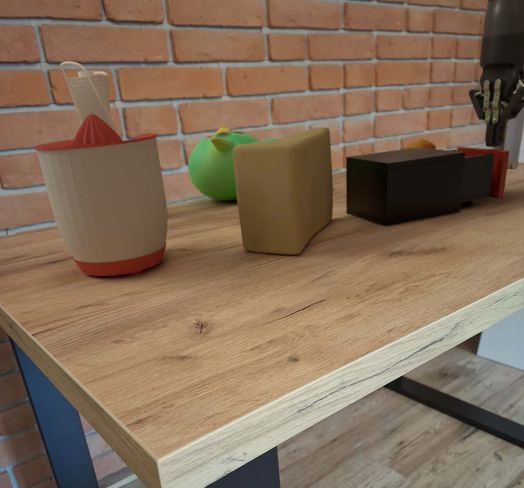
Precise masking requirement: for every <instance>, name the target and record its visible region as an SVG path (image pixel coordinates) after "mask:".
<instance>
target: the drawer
mask: <svg viewBox="0 0 524 488" xmlns="http://www.w3.org/2000/svg"><path fill="white" fill-rule="evenodd" d="M448 151H458V152H465V157H464V158H465V160H464V171H463V181H462V192H461V202H460V204H463V203H469V202H474V201H480V200H485V199H489V198H490V199H495V200H500V199H504V197H505V195H504V194H505V187H506V181H507V174H508V173H507V172H508V170H516V169H518V167H519V161H518V160H514V159H510V158H509V156H510V150H505V149H493V148H480V147H470V146H458V147H457V148H456V149H449V150H448Z"/></svg>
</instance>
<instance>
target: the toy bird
mask: <svg viewBox="0 0 524 488" xmlns="http://www.w3.org/2000/svg"><path fill="white" fill-rule="evenodd" d="M281 138H282V137H273V138H268V139H263V140H259V139H258V138H257V137H255V136H253V135H251V134H249V133H246V132H243V131H237V130H233V131H232V130H231V129H230V128H229V127H227V126H221V127H219V129H217V131H216V132H215V133H214V134H210V135H208V136H207V137H204V138H203V139H201V140H200V141H199V142H198V143H197V144H196V145H195V146H194V147H193V148H192V151H191V153H190V155H189V158H188V163H187V165H188V166H187V170H188V171H187V172H188V175H189V178H190V181H191V183H192V185H193V186H194V187H195V189H196V190H198V192H200V193H201V194H202V195H204V196H206V197H207V198H210V199H213V200H218V201H237V194H236V184H235V172H234V161H233V149H234V148H235V147H236V146H238V145H241V144H247V143H254V142H267V141H273V140H278V139H281Z"/></svg>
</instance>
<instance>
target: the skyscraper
mask: <svg viewBox="0 0 524 488" xmlns="http://www.w3.org/2000/svg"><path fill="white" fill-rule="evenodd" d="M64 66H76V67H78V68H80V69H81V70H80V71H77V76H74V77H68V76H67V73H66V71H65V69H64ZM59 68H60V70H61V72H62V74H63V76H64V78H65V81H66V85H67V87H68V90H69V93H70V96H71V98H72V102H73V105H74V107H75V110H76V113H77V116H78V119H79V121H80V126H81V125H82V123H83V121H84V120H85V119H86V117H87V116H88V115H90V114H95V115H96V116H98V117H99V118H101V119H102V120H103V121H104V122H105V123H107V124H108V125H109V126H110V127H111V128H112V129H113V130H114V131H115V132H116V133H117V134H118V131H117V129H116V126H115V123H114V120H113V119H112V115H111V99H110V82H109V74H108V73H107V72H106V71H102V70H101V71H100V70H98V71H95V70H87V69H86V67H85V66H83V64H81V63H78V62H76V61H63V62H61V63H60V64H59Z"/></svg>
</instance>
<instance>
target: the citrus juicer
mask: <svg viewBox="0 0 524 488" xmlns="http://www.w3.org/2000/svg"><path fill="white" fill-rule="evenodd" d="M116 132H117V131H116ZM116 132H115V131H114V130H113V129H112V128H111V127H110V126H109V125H108V124H107V123H105V122H104V121H103V120H102V119H101V118H99V117H98V116H96V115H95V114H90V115H88V116H87V117H86V119H85V120H84V121H83V123H82V125H81V124H80V126H79V129H78V130H77V132H76V134H75V136H74V138H72V139H66V140H60V141H53V142H47V143H42V144H41V143H40V144H37V145H34V146H33V150H35V151H36V154H37V158H38V163H39V166H40V169H41V173H42V177H43V181H44V185H45V188H46V192H47V196H48V200H49V203H50V207H51V211H52V215H53V218H54V221H55V224H56V228H57V230H58V232H59V235H60V237H61V239H62V242H63V243H64V245H65V247H66V249H67V250H68V252H69V253H70V255H71V259H72V260H73V261H74V263H75V264H76V265H77V267H78V268H79V269H80V271H81V272H82V273H84V274H85V275H87V276H94V277H95V276H96V277H111V276H121V275H137V274H140V273H141V272H142V271H144V270H147V269H150V268H152V267H154V266H156V265H158V264H160V263H161V262H162V261H163V260H164V256H165V252H166V247H167V235H168V207H167V205H168V204H167V198H166V197H167V196H166V190H165V184H164V179H163V173H162V166H161V161H160V154H159V148H158V142H157V137H158V136H159V135H158V134H157V133H155V132H154V133H153V132H145V133H139V134H138V135H136V136H135V138H132V139H124V140H123V139H122V138H121V136H120V135H119V134H118V132H117V133H116Z"/></svg>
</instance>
